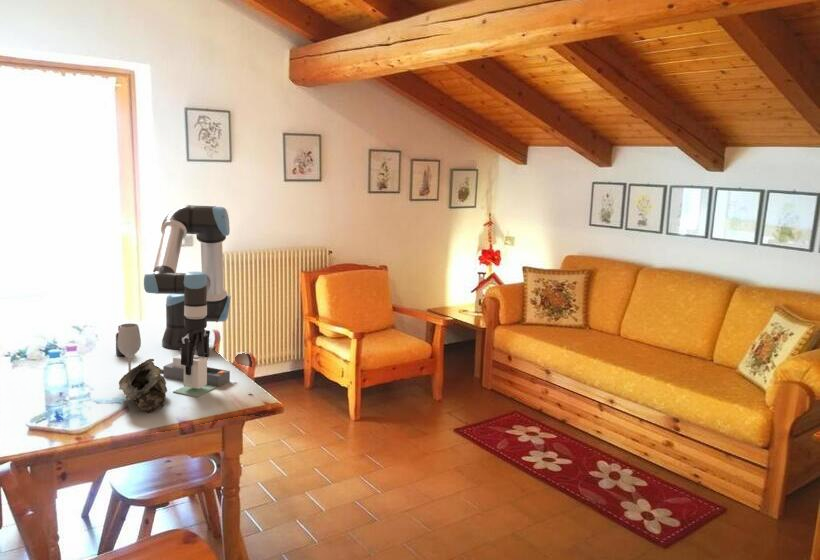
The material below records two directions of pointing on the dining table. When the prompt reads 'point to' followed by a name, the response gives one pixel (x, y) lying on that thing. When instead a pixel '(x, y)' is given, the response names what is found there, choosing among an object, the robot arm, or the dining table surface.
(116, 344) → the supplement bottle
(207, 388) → the felt mat
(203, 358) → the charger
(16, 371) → the dining table surface
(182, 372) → the power strip
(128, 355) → the wineglass
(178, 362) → the block
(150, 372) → the hollow geode rock
